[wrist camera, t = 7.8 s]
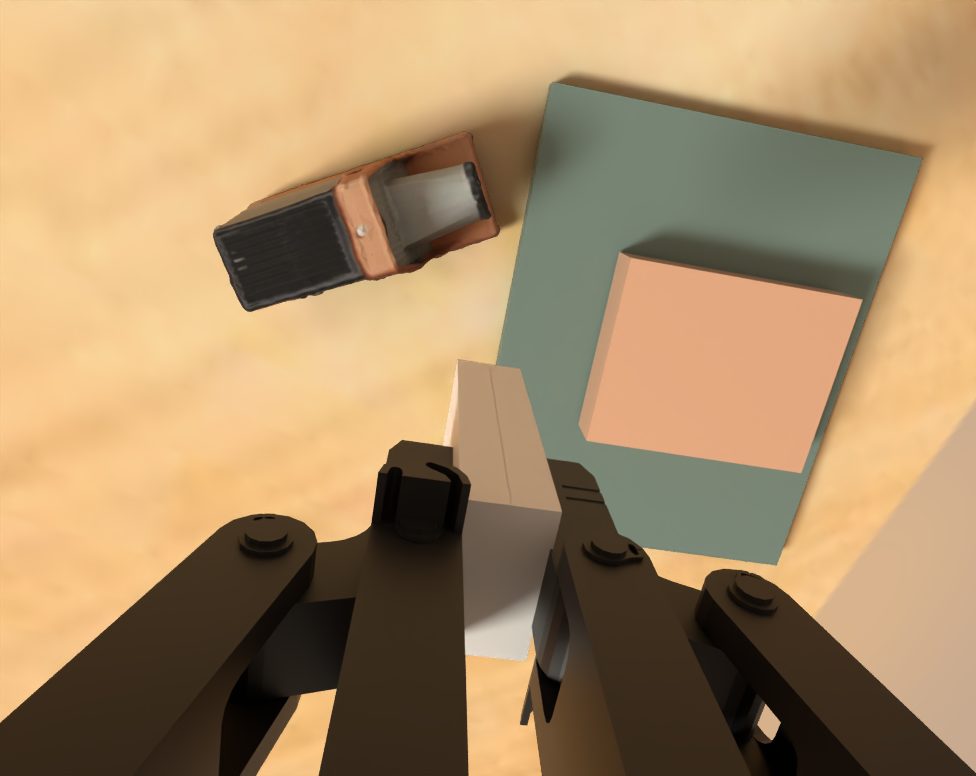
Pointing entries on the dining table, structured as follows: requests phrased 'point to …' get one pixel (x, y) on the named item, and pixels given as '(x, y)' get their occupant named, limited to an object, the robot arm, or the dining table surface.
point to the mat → (696, 241)
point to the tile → (714, 363)
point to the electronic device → (358, 225)
